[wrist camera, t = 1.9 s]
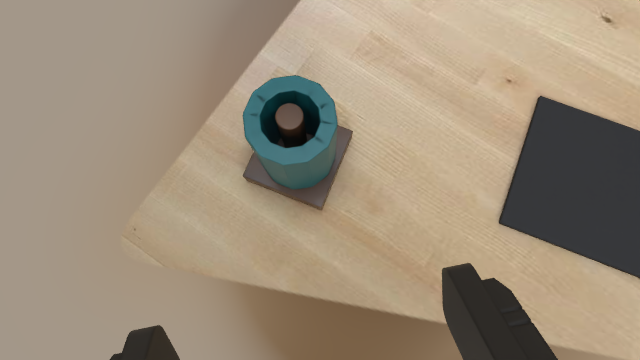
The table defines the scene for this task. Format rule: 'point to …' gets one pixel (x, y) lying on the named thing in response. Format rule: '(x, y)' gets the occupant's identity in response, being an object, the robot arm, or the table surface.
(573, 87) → the table surface
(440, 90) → the table surface
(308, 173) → the teal hollow cylinder
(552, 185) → the mat
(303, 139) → the ring toss
